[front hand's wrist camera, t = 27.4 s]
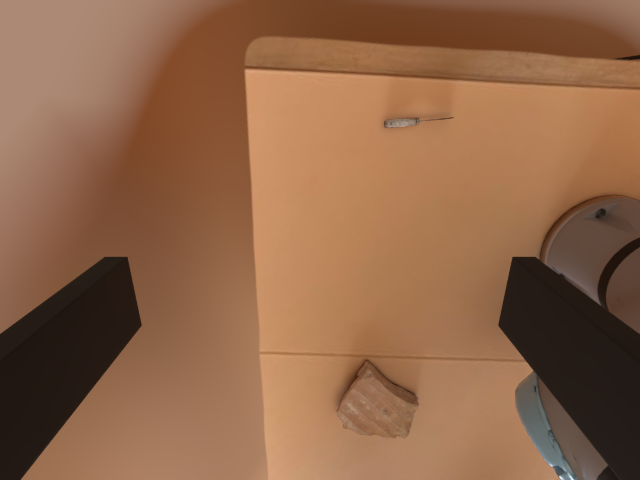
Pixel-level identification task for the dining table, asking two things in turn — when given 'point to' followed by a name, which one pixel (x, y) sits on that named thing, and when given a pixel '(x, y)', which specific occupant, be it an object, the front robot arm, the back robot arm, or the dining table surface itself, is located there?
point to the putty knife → (404, 122)
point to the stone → (377, 406)
